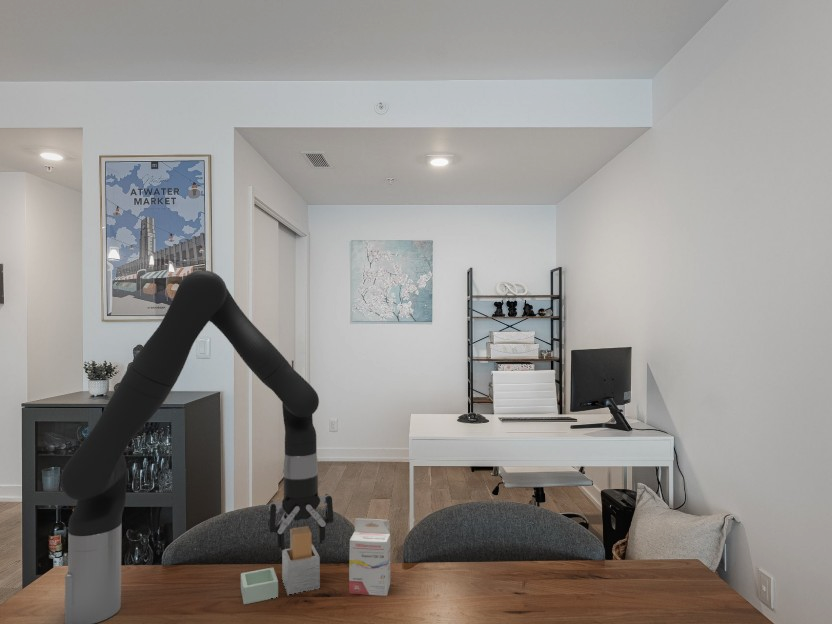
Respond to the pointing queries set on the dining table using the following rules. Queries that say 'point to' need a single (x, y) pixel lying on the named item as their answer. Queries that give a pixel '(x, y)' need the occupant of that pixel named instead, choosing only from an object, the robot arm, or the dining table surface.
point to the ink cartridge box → (370, 558)
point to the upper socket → (300, 572)
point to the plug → (300, 543)
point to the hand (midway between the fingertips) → (301, 545)
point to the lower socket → (259, 585)
